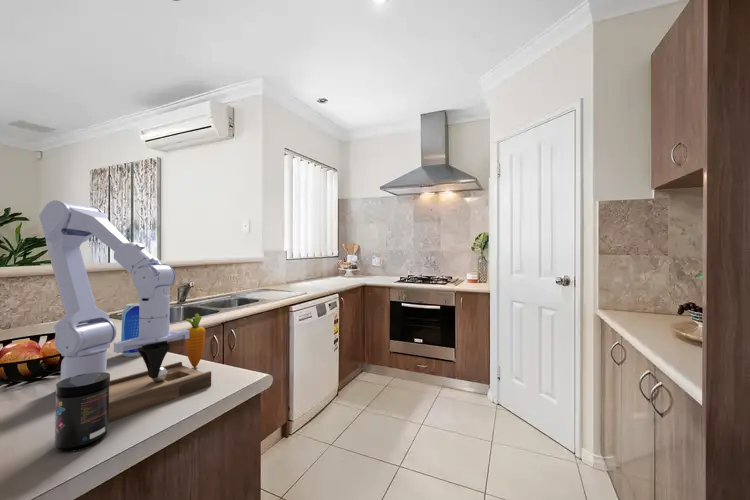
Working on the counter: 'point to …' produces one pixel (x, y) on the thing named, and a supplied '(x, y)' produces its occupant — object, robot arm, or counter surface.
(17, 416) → the counter surface
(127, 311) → the beer can
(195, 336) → the carrot
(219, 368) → the counter surface
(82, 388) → the supplement container
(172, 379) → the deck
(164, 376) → the ball
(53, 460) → the counter surface
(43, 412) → the counter surface
